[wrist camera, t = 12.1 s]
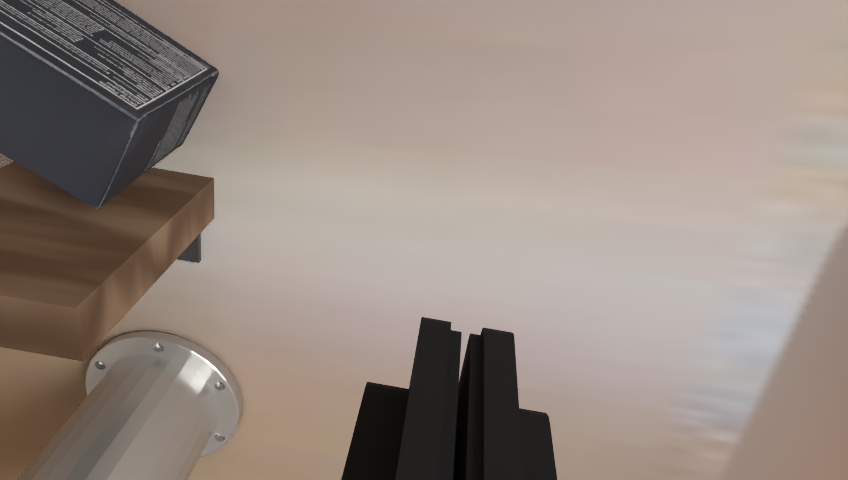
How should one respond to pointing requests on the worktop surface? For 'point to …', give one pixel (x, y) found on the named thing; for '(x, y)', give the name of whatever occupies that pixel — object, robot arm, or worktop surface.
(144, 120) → the small box
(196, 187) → the walnut block
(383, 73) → the worktop surface
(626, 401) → the worktop surface
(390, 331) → the worktop surface
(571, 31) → the worktop surface
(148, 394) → the robot arm
